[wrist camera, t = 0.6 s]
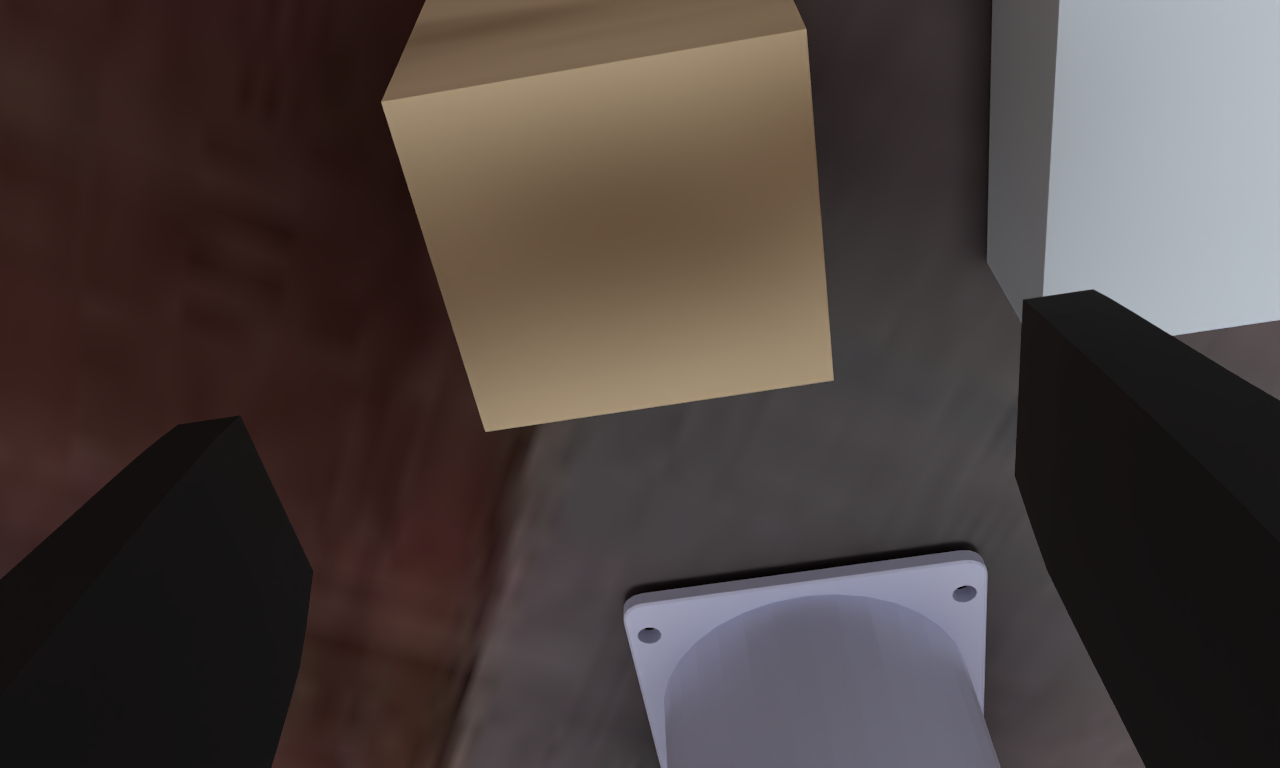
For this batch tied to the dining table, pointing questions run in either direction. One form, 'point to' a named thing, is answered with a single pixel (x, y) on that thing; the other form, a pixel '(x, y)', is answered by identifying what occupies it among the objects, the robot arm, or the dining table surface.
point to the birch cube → (617, 199)
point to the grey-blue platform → (1138, 156)
